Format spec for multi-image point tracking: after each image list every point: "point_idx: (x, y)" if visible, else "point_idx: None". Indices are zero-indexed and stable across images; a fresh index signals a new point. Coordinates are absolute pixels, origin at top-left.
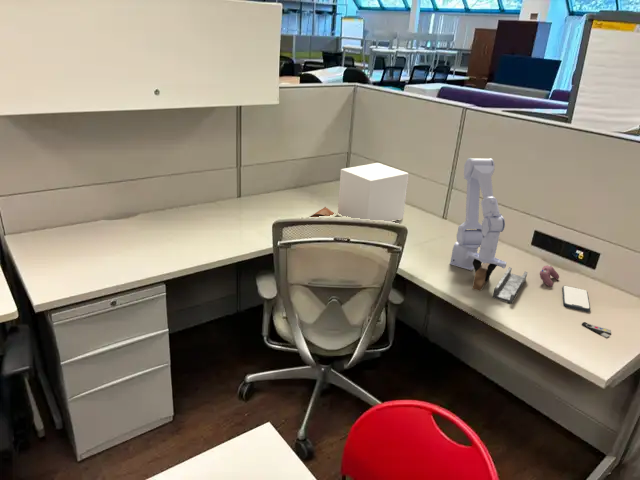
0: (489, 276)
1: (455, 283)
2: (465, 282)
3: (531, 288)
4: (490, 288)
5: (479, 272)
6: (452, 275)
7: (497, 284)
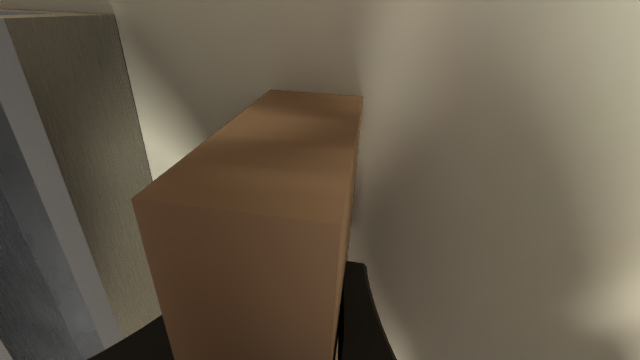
0: None
1: (588, 109)
2: (459, 194)
3: None
4: None
5: (254, 257)
6: (618, 271)
7: (65, 188)
